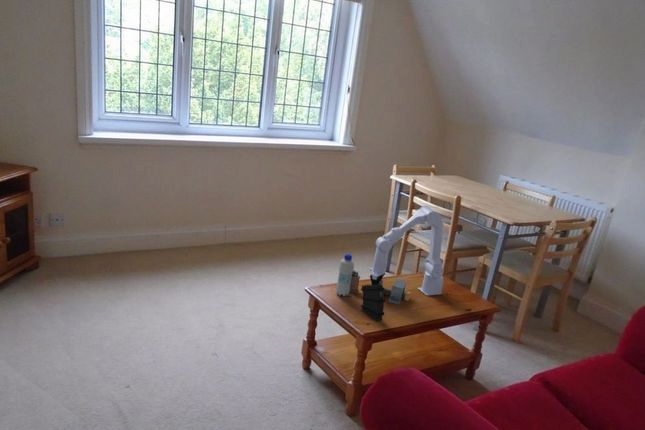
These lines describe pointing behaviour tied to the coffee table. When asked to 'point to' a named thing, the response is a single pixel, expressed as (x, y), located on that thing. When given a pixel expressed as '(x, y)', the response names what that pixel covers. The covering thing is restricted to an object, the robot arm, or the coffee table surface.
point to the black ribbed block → (373, 301)
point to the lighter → (354, 281)
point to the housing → (397, 291)
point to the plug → (388, 292)
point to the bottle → (345, 275)
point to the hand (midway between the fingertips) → (375, 287)
